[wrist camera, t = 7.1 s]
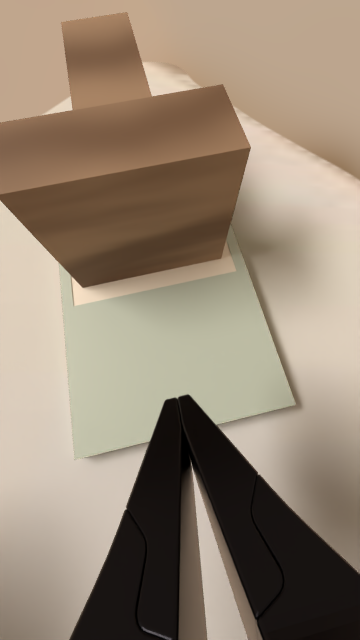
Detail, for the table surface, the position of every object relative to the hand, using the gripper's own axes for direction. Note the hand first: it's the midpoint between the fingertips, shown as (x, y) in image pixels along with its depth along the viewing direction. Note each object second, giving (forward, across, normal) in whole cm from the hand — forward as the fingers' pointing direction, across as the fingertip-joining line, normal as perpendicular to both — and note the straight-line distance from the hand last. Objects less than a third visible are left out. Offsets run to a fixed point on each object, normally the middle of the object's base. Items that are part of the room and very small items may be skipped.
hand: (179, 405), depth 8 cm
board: (+12, 0, -2) cm, 13 cm away
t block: (+15, 0, -6) cm, 16 cm away
